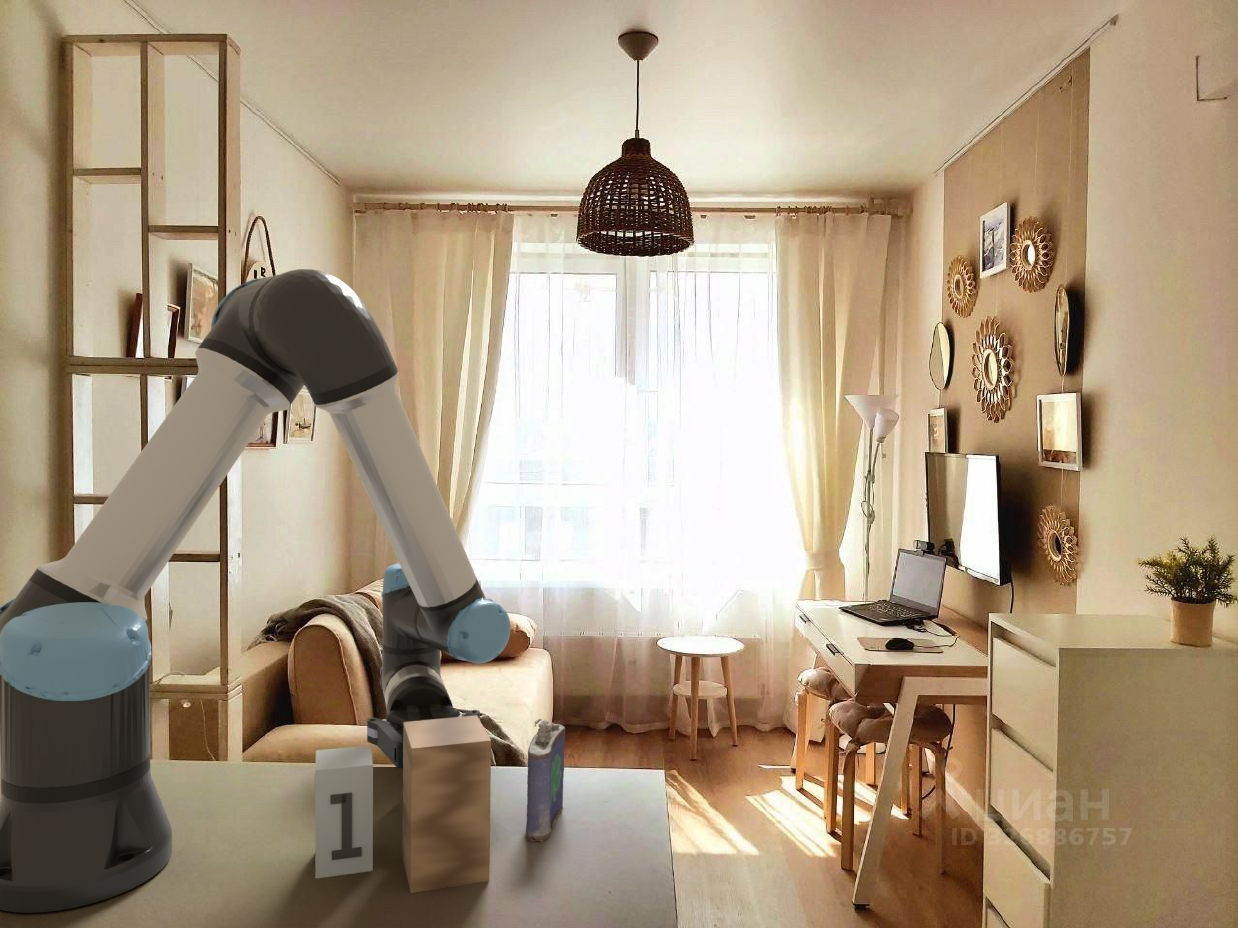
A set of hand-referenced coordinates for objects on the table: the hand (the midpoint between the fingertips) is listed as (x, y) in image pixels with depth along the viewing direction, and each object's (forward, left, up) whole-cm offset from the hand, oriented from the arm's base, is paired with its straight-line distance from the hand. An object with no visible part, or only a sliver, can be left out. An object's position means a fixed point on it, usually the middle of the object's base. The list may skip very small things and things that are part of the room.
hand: (441, 781), depth 87 cm
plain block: (0, -4, -7) cm, 8 cm away
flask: (+11, +3, -7) cm, 13 cm away
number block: (-9, 0, -7) cm, 11 cm away
